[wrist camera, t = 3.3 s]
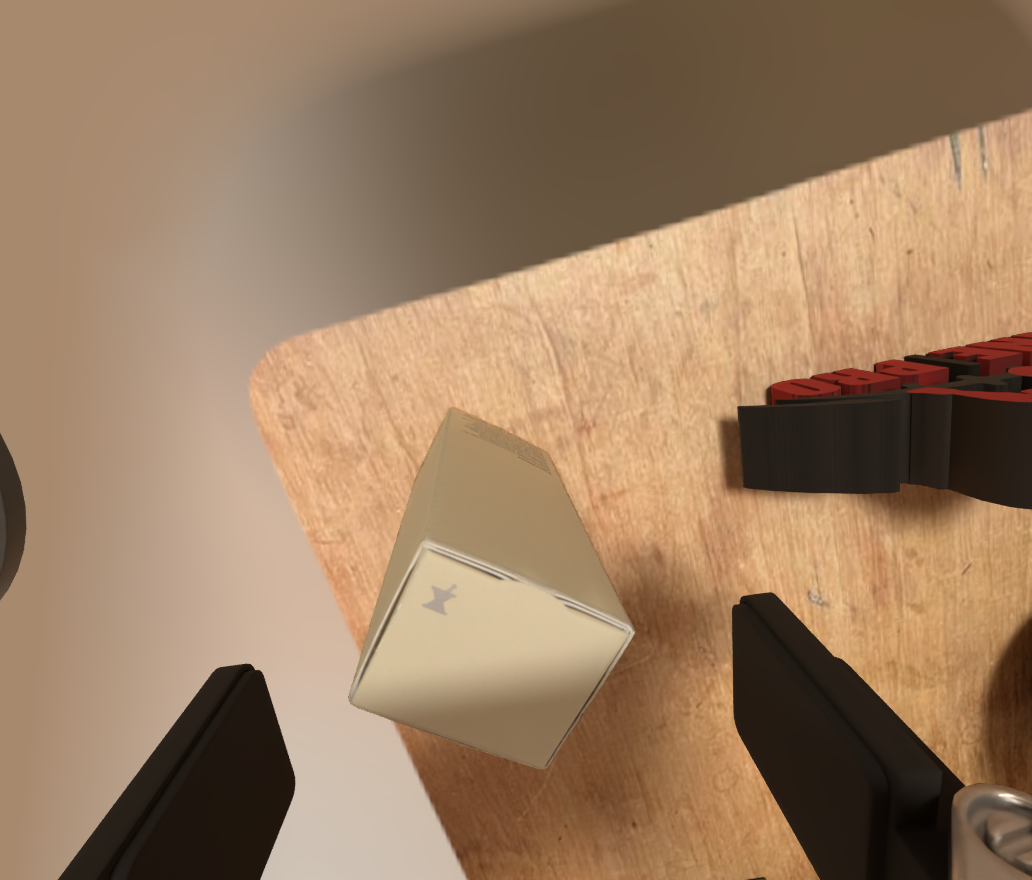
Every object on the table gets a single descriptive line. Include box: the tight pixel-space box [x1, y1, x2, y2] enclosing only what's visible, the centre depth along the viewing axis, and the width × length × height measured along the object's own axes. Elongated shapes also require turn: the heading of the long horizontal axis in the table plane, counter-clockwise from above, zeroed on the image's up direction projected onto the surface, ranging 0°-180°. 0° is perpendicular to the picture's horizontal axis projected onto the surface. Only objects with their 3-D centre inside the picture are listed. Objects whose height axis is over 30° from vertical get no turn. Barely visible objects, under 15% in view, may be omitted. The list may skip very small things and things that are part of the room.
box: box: [348, 407, 635, 769], centre depth 17 cm, size 5×4×13 cm
